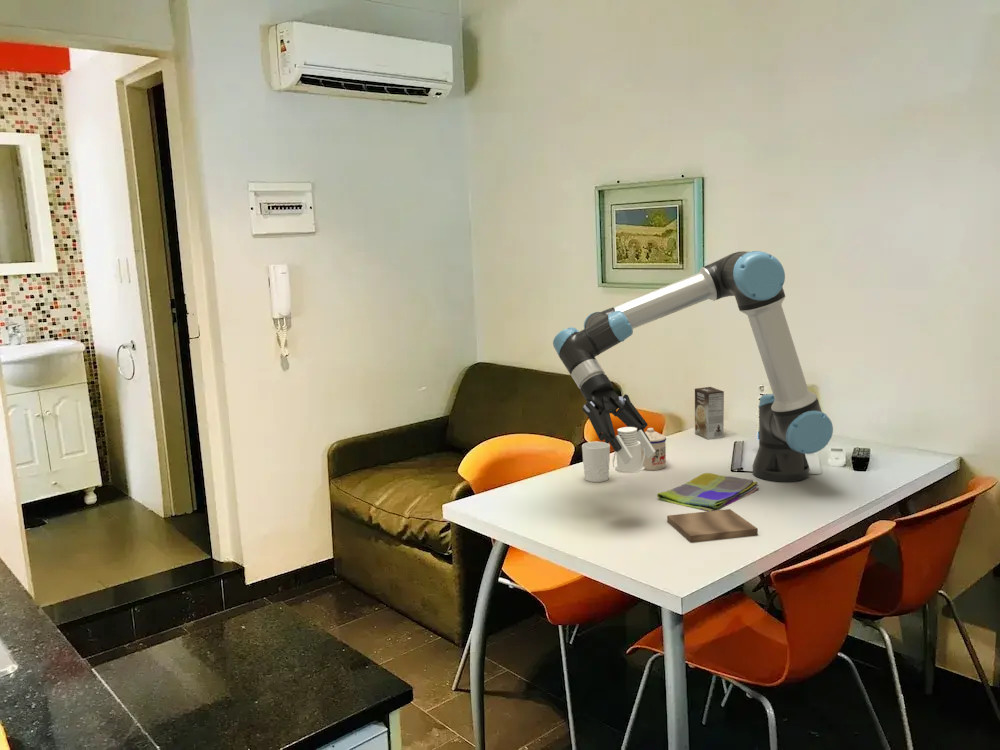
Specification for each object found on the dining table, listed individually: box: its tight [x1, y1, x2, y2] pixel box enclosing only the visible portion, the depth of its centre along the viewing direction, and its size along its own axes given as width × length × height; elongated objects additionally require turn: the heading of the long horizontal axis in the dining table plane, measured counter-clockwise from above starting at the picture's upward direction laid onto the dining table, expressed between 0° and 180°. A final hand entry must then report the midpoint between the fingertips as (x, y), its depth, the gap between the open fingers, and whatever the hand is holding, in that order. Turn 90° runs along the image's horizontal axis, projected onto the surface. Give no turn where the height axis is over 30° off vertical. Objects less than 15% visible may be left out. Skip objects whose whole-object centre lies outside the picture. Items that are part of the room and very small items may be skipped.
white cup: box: [581, 441, 611, 483], centre depth 228 cm, size 8×8×10 cm
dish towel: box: [656, 472, 759, 512], centre depth 211 cm, size 18×24×3 cm
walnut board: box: [666, 508, 759, 543], centre depth 186 cm, size 16×14×2 cm
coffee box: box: [694, 386, 725, 440], centre depth 271 cm, size 9×6×16 cm
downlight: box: [612, 426, 646, 474], centre depth 190 cm, size 8×7×10 cm
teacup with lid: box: [641, 427, 667, 471], centre depth 239 cm, size 12×9×12 cm
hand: (640, 457), depth 188 cm, fingers closed on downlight, 7 cm apart
